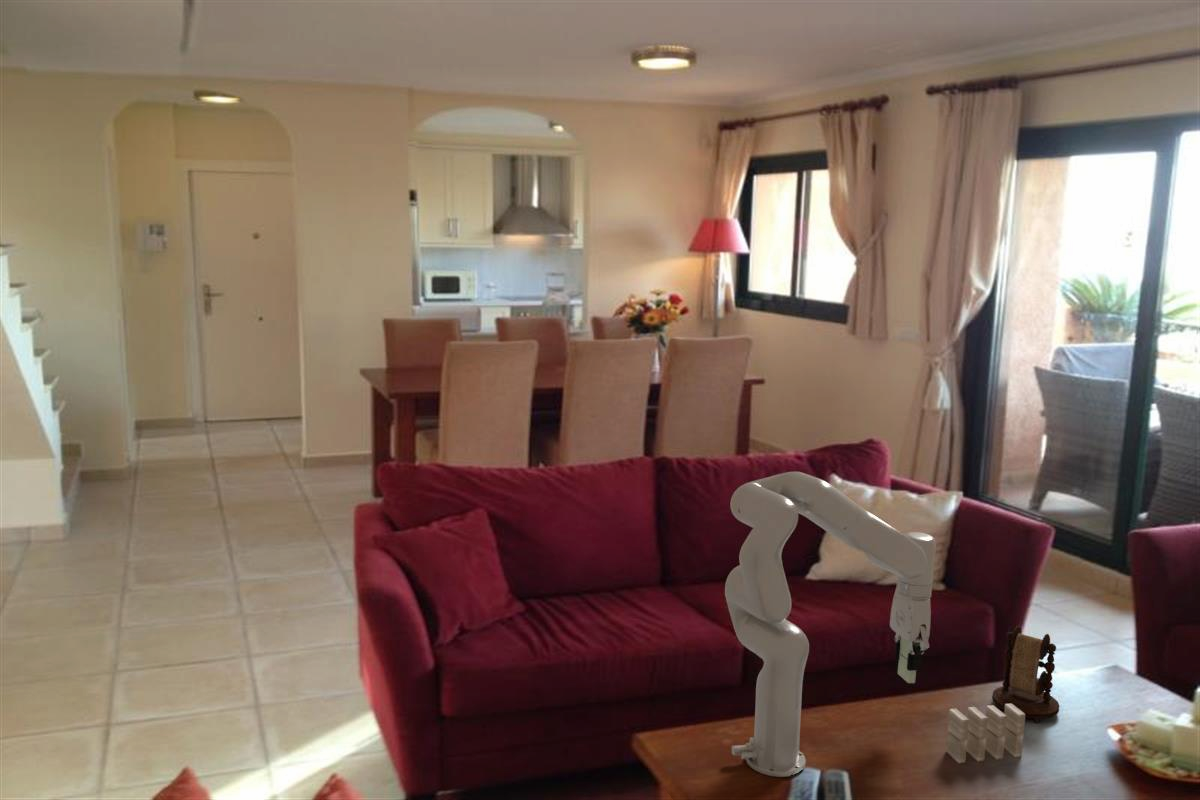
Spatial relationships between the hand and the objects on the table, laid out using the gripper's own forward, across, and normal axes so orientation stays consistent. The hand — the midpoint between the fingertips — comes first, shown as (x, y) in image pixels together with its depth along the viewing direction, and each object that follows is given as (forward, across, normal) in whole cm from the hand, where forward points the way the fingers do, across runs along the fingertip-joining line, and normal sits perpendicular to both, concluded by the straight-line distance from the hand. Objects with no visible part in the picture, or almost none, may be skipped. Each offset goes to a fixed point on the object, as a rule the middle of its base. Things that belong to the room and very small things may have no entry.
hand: (907, 663), depth 225 cm
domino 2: (+16, +14, +5) cm, 21 cm away
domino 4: (+15, +14, +14) cm, 25 cm away
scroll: (+15, -3, +34) cm, 37 cm away
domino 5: (+15, +14, +19) cm, 28 cm away
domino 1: (+3, 0, 0) cm, 3 cm away
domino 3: (+15, +14, +10) cm, 23 cm away
